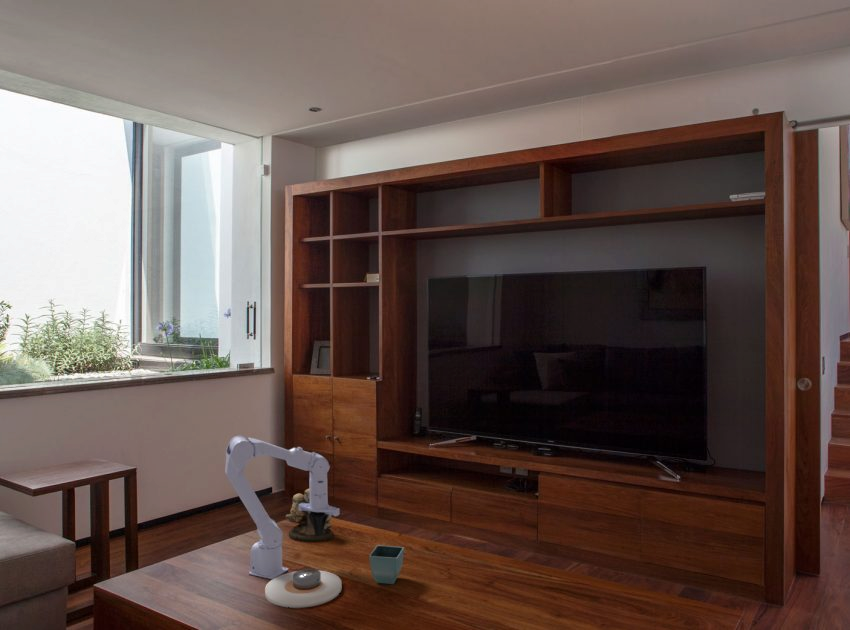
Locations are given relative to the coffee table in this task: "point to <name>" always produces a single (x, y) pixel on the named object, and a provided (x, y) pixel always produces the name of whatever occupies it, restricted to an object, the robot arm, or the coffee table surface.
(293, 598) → the turntable
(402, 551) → the flower pot
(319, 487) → the robot arm
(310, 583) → the cast cover
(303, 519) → the owl figurine
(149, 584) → the coffee table surface
